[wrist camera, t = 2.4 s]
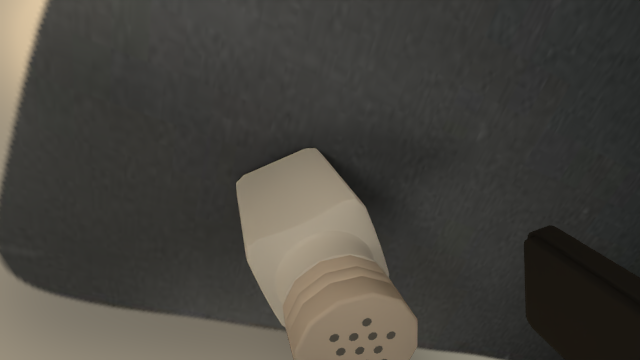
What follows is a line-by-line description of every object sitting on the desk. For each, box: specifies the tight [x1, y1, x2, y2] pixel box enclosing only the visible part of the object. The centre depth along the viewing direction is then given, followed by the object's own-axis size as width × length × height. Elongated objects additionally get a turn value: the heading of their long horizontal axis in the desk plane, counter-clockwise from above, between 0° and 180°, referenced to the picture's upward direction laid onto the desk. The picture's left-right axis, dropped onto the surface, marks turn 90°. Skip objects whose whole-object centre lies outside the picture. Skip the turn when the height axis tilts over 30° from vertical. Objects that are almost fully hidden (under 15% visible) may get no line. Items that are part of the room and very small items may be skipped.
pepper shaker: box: [236, 148, 418, 360], centre depth 14 cm, size 4×4×10 cm
